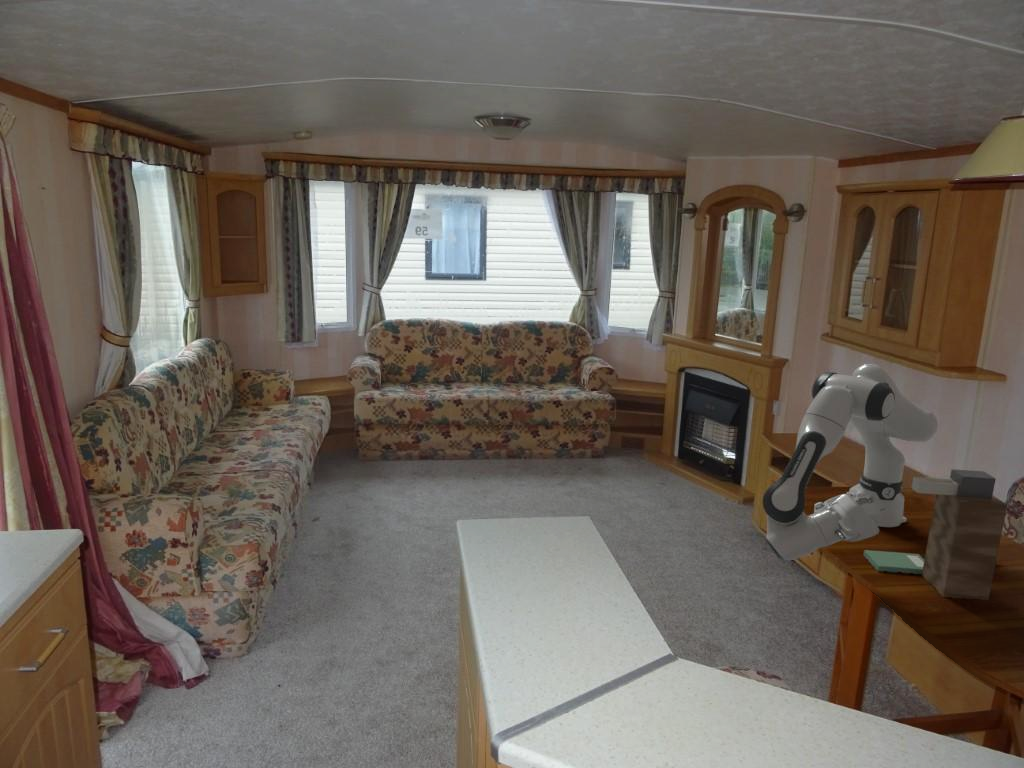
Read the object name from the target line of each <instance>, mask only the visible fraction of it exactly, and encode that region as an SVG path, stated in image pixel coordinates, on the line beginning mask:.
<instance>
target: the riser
mask: <svg viewBox="0 0 1024 768" xmlns="http://www.w3.org/2000/svg"><path fill="white" fill-rule="evenodd" d="M934 498H935V499H934V504H933V509H932V510H933V511H932V514H931V515H932V516H931V522H930V528H929V532H928V538H927V545H926V549H925V555H924V558H925V560H924V565H923V571H922V574H921V576H922V577H923V578H924V579H925V580H926V581H927V582H928V581H929V582H928V583H929V584H930V583H931V584H932V585H931V584H930V585H931V587H933V586H934V587H935V588H936V589H937V590H938V591H939V592H938V591H937V590H936V589H935V588H934V587H933V588H934V589H935V590H936V591H937V592H938V594H939V595H941V596H942V597H943V598H949V597H952V598H951V599H961V598H965V599H964V600H974V599H978V600H977V601H987V600H988V601H989V598H990V594H991V593H990V592H991V588H992V583H993V578H994V574H995V568H996V563H997V559H998V553H999V548H1000V543H1001V540H1002V539H1001V538H1002V533H1003V528H1004V524H1005V518H1006V514H1007V508H1008V503H1005V502H1004V501H1002V500H1001V499H999V498H998V497H996V496H995V495H992V499H979V498H965V497H958V496H954V495H940V494H935V497H934ZM979 599H981V600H979Z"/></svg>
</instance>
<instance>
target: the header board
mask: <svg viewBox="0 0 1024 768" xmlns="http://www.w3.org/2000/svg"><path fill="white" fill-rule="evenodd" d="M863 557H865V559H866V560H867V559H868V560H867V561H868V562H869V563H870V564H871V565H872V567H873V566H874V567H875V568H874V567H873V568H874V569H875V570H876V572H884V571H887V572H886V573H888V572H889V573H897V572H902V573H901V574H910V573H913V575H922V571H923V565H924V559H923V557H922V556H921V555H920V554H919V553H910V552H909V553H908V552H907V553H906V552H896V551H882V550H871V549H870V550H868V549H864V550H863Z"/></svg>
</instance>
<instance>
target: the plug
mask: <svg viewBox="0 0 1024 768" xmlns="http://www.w3.org/2000/svg"><path fill="white" fill-rule="evenodd" d="M996 480H997V479H996V478H995V477H994V476H992V475H991V474H989V473H988V472H986V471H982V470H968V469H967V470H965V469H951V470H950V476H949V477H940V476H939V477H938V476H925V477H916V476H913V478H912V484H911V489H912V490H913V491H914V492H916V494H917V493H918V494H924V495H925V494H927V495H928V494H929V495H936V494H940V495H954V496H958V497H965V498H979V499H992V495H993V494H994V489H995V484H996ZM993 496H994V495H993Z"/></svg>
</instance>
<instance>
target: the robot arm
mask: <svg viewBox="0 0 1024 768" xmlns="http://www.w3.org/2000/svg"><path fill="white" fill-rule="evenodd" d="M811 397H812V401H811V402H810V404H809V407H808V408H807V409H806V412H805V413H804V415H803V416H802V417H803V418H802V420H801V423H800V426H799V429H798V431H797V437H796V442H795V443H796V445H795V447H794V448H795V449H794V452H793V454H792V456H791V458H789V461H788V464H787V466H786V467H785V469H784V471H783V473H782V475H781V477H780V478H778V480H776V481H775V482H774V483H772V484H771V485H770V486H769V487H767V489H766V490H765V492H764V494H763V496H762V506H763V509H764V512H765V515H766V516H765V517H766V535H765V541H766V543H767V545H768V547H769V548H770V550H771V551H772V552H773V554H774V555H776V557H778V559H780V560H783V561H786V562H787V561H792V560H793V561H794V560H797V559H799V558H803V557H805V556H807V555H809V554H811V553H814V552H815V551H816V550H817V549H819V548H825V547H828V546H831V545H833V544H835V543H838V542H841V541H842V542H844V541H845V542H854V543H855V542H860V541H862V540H863V541H864V540H866V539H869V538H871V537H875V536H876V535H878V534H879V533H880V528H879V527H881V528H882V527H883V528H895V527H899V526H900V525H901V524H902V523H906V522H907V517H906V516H904V509H905V496H904V495H903V494H902V491H903V487H904V484H903V483H904V482H903V474H904V469H905V463H906V459H905V456H904V454H903V453H902V451H901V450H899V449H898V448H897V447H896V446H894V444H893V443H892V441H891V438H893V439H897V440H903V441H907V442H915V443H916V442H917V443H919V442H920V443H926V442H928V441H930V440H931V439H932V438H933V437H934V436H935V434H936V433H937V430H938V420H937V417H936V415H935V413H934V412H932V411H930V410H929V409H926V408H924V407H922V406H920V405H919V404H916V403H915V402H913V401H912V400H910V399H909V398H908V397H906V396H905V395H904V394H902V393H901V392H900V390H899V389H898V387H897V384H896V383H895V381H894V380H893V378H892V377H891V375H890V374H889V373H888V372H887V370H885V369H884V368H883V367H882V366H879V364H874V363H865V364H862V365H859V366H858V367H857V368H856V369H855V370H854V371H853V373H852V375H848V374H841V373H840V374H838V373H837V372H823V373H821V374H820V375H818V377H816V378H815V380H814V382H813V385H812V388H811ZM849 422H850V424H851V425H852V426H853V427H854V428H855V429H856V430H857V432H858V433H859V434H860V436H861V439H862V441H863V445H864V449H865V455H864V456H865V457H864V458H865V459H864V468H863V472H861V475H860V478H859V482H858V483H857V484H855V485H853V486H852V487H850V488H849V491H847V492H846V493H841V494H839V495H836V496H833V497H831V498H829V499H826V500H825V501H824V502H822V501H819V502H816V503H815V504H814V510H813V513H811V514H809V515H806V512H805V511H804V509H805V504H806V502H805V501H806V500H805V490H806V488H807V485H808V483H809V481H810V479H811V477H812V475H813V473H814V471H815V469H816V466H817V465H818V463H819V462H820V461H821V459H822V458H824V457H825V456H827V455H829V454H831V453H832V452H833V451H834V450H835V449H836V447H837V446H838V444H839V443H840V441H841V440H842V438H843V436H844V435H845V432H846V430H847V427H848V424H849Z"/></svg>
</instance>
